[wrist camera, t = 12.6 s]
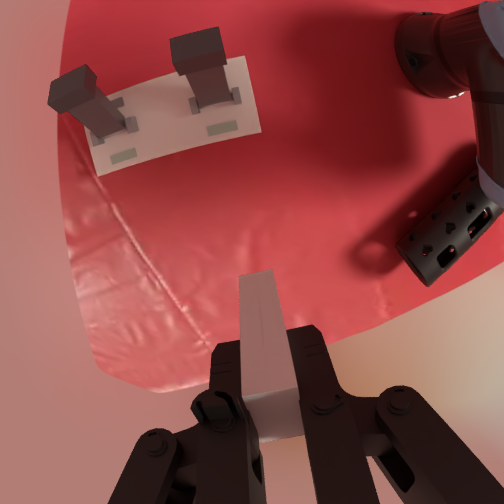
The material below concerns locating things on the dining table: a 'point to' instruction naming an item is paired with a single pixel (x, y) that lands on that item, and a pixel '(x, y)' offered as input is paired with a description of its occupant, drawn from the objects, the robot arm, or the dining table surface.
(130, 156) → the switch panel
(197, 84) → the inner lever
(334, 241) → the dining table surface
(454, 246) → the muzzle brake
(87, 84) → the outer lever
